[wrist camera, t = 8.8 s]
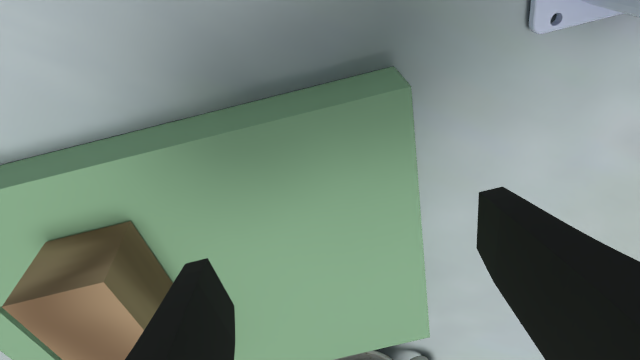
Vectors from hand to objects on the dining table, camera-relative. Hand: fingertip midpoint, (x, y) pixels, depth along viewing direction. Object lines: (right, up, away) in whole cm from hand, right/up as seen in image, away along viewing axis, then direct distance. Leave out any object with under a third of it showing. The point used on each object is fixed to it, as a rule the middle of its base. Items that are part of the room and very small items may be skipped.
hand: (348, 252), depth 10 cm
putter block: (-10, -5, +10) cm, 15 cm away
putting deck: (-7, -3, +12) cm, 15 cm away
